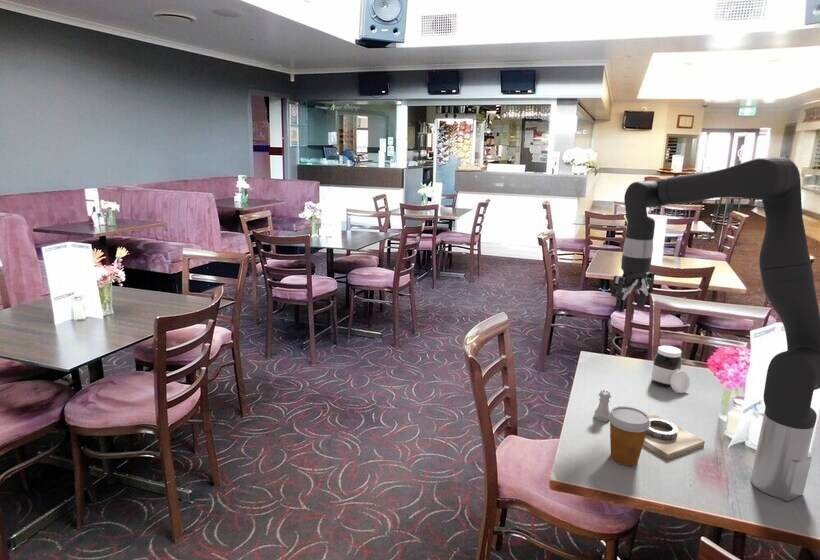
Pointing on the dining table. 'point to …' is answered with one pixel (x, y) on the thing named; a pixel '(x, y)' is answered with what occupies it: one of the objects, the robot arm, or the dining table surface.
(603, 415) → the rook chess piece
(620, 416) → the disposable coffee cup
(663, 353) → the spread jar
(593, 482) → the dining table surface
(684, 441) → the birch base plate
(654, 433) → the steel socket collar
